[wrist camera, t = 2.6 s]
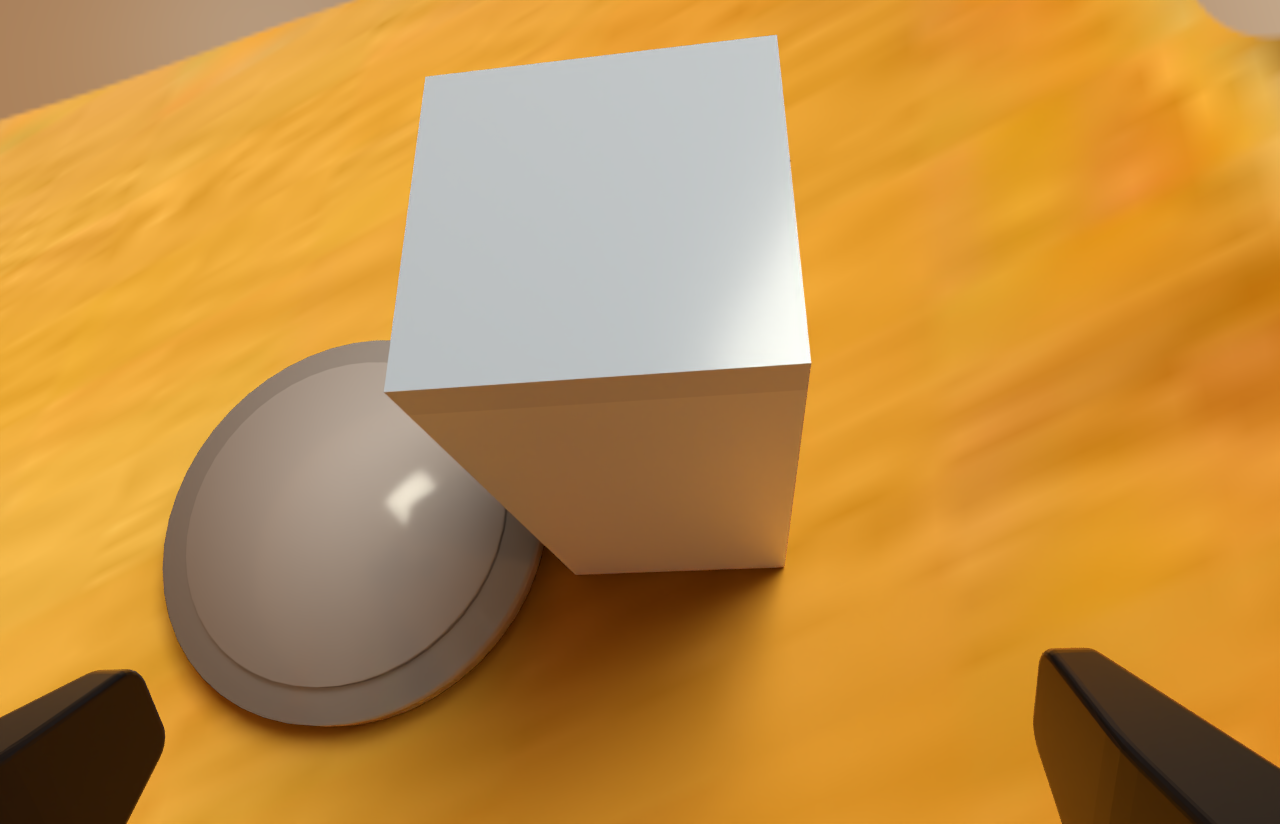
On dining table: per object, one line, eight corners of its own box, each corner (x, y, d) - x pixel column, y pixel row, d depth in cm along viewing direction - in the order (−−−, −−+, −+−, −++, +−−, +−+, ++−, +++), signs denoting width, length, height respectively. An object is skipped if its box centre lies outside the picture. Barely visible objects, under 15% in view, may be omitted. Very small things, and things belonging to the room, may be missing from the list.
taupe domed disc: (245, 811, 20) (216, 813, 19) (145, 466, 25) (117, 453, 24) (616, 588, 21) (609, 579, 20) (455, 295, 26) (442, 275, 25)
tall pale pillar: (784, 566, 21) (811, 363, 10) (575, 574, 21) (383, 392, 11) (768, 375, 23) (777, 34, 12) (579, 387, 24) (425, 76, 13)
